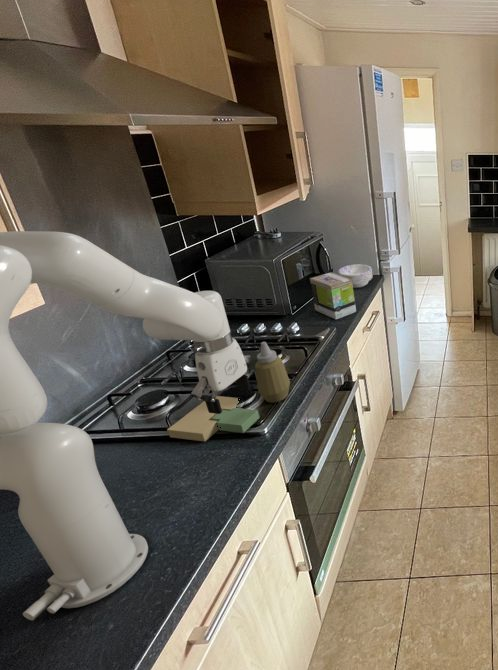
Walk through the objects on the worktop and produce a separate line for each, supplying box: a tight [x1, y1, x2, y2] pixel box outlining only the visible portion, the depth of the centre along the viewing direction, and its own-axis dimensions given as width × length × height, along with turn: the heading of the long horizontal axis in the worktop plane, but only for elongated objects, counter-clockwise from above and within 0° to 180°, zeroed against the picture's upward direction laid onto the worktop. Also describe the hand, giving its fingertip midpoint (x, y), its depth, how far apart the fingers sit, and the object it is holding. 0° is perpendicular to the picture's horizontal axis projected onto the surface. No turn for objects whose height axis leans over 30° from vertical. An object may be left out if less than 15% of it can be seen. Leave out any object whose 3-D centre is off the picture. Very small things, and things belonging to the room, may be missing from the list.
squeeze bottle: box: [254, 341, 291, 404], centre depth 117 cm, size 8×8×18 cm
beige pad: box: [166, 395, 244, 442], centre depth 110 cm, size 14×10×2 cm
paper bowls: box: [337, 263, 374, 289], centre depth 199 cm, size 15×15×8 cm
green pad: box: [212, 408, 261, 434], centre depth 109 cm, size 6×10×2 cm, turn 82°
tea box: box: [309, 271, 357, 320], centre depth 170 cm, size 15×10×15 cm
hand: (230, 400), depth 106 cm, fingers open, 9 cm apart
